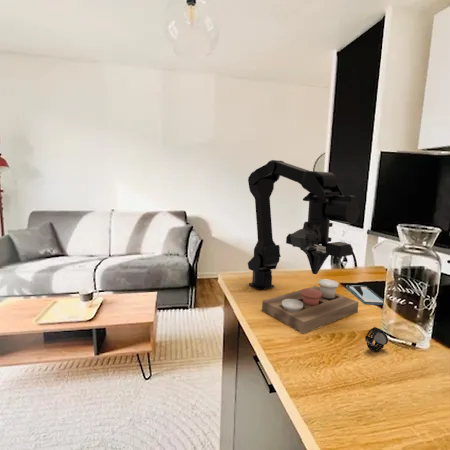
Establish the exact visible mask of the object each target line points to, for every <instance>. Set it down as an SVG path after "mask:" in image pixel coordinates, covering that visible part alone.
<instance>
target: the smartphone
mask: <svg viewBox="0 0 450 450" xmlns="http://www.w3.org/2000/svg"><path fill="white" fill-rule="evenodd" d="M345 288H346V289H347V290H348V291H349V292H350V293H351V294H353V296H354V297H356V298H357V299H358V300H359V301H360V302H361V303H362V304H364V305H368V306H370V305H374V306H376V305H377V306H383V305H382V304H383V300H384V299H383V298H382V297H381V296H379V295H378V294H377V293H375V292H374V291H373V290H372V289H371V288H369V287H368V286H367V285H360V284H359V285H357V284H355V285H352V284H349V285H348V284H346V286H345Z"/></svg>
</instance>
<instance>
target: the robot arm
mask: <svg viewBox="0 0 450 450" xmlns="http://www.w3.org/2000/svg"><path fill="white" fill-rule="evenodd" d="M281 177H282V178H285V179H288V180H291V181H294V182H296V183H297V184H299V185H301V187H302V188H303V189H304V190H305V191H307V192H308V194H306V196H304V197H303V198H302V200H303V201H304V202H308V213H307V214H308V215H307V221H304V223H303V227H302V228H300V229H297V230H296V231H295V232H293V233H288V234H287V236H286V238H285V239H286V240H285V243H286V244H287V245H291V246H292V247H293V248H299V250H301V251H303V252H304V253H305V255H306V257H307V260H308V263H309V266H310V270H311V273H312V274H313V275H318V274H319V271H320V270H321V268H322V266H323V265H324V263H325V261H326V260H327V259H328V257H329V256H332V257H335V258H343V257H348V256H353V250H354V248H353V246H352V244H351V243H347V242H342V241H334V242H332V237H329V235H330V234H329V232H330V228H332V227H333V225H334V223H333V222H336V223H344V224H349V225H351V224H352V225H353V224H355V223H356V222H357V221H358V220H359V217H360V215H361V209H360V206H359V203H358V201H356V200H357V196H356V195H344V193H343V191H342V188H341V187H340V186H339V183H338V182H337V178H336V175H335V174H334V173H332V172H327V171H319V170H318V171H316V170H315V171H314V170H308V169H305V168H302V167H299V166H296V165H293V164H291V163H288V162H284V161H283V160H274V159H271V160H269V161H268V162H267V163H266V164H264V165H263V166H260V167H259V168H257V169H255V170H254V171H252V172H251V173H250V175H249V176H248V180H247V183H248V188H249V192H250V193H251V195H252V196H253V198H254V203H255V218H256V220H255V221H256V231H257V233H256V234H257V242H256V244H255V246H254V248H253V257H252V258H251V259H250V260H249V261H248V262H247V267H248V270H250V271H252V282H250V283H248V285H249V286H251V287H253V288H254V289H257V290H259V291H263V290H267V289H272V288H275V285H274V284H272V280H273V274H272V273H273V272H272V270H276V269H277V267H278V264H279V263H280V260H281V259H280V258H281V254H280V253H281V252H280V245H279V244H276V242H275V241H274V239H273V225H272V213H271V212H272V211H271V196H272V194H273V191H274V189H275V188H274V186H275V183H277V181H279V180H280V178H281ZM331 221H333V222H331Z"/></svg>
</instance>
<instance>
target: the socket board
mask: <svg viewBox="0 0 450 450" xmlns="http://www.w3.org/2000/svg"><path fill="white" fill-rule="evenodd" d="M309 288H310V289H316V290H319V291H320V286H317V285H314V286H311V287H309ZM301 290H302V289H300V290H296V291H291V292H288V293H285V294H280V295H278V296H273V297H270V298H267V299H263V300H262V302H261V311H262V312H263V313H265V314H268V316H271V317H273V318H274V319H276V320H278V321H280V322H282V323H283V324H285V325H287V326H288V327H290V328H292V329H293V330H295V331H297V332H300V333H301V334H303V335H304V334H306V333H309V332H311V331H313V330H316V329H319V328H321V327H323V326H325V325H328V324H331V323H333V322H336V321H338V320H341V319H343V318H346V317H348V316H351V315H353V314H355V313H358V310H359V301H358V300H354V299H352V298H349V297H346V296H344V295H341V294H338V293H336V294H335V298H325V297H322V296H321V297H320V298H319V304H318V305H315V306H309V305H307V304H305V303H303V296H302V295H301ZM284 299H296V300H299V301H301V302H302V303H303V308H302V309H301V310H300V311H297V312H294V313H292V312H290V311H288V310H286V309H284V307H283V306H282V301H283V300H284Z"/></svg>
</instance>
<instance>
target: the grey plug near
mask: <svg viewBox="0 0 450 450" xmlns="http://www.w3.org/2000/svg"><path fill="white" fill-rule="evenodd" d="M282 306H283V307H284V309H286V310H288V311H290V312H292V313H294V312H297V311H300V310H301V309H302V308H303V303H302V302H301V301H299V300H296V299H284V300H283V301H282Z"/></svg>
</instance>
